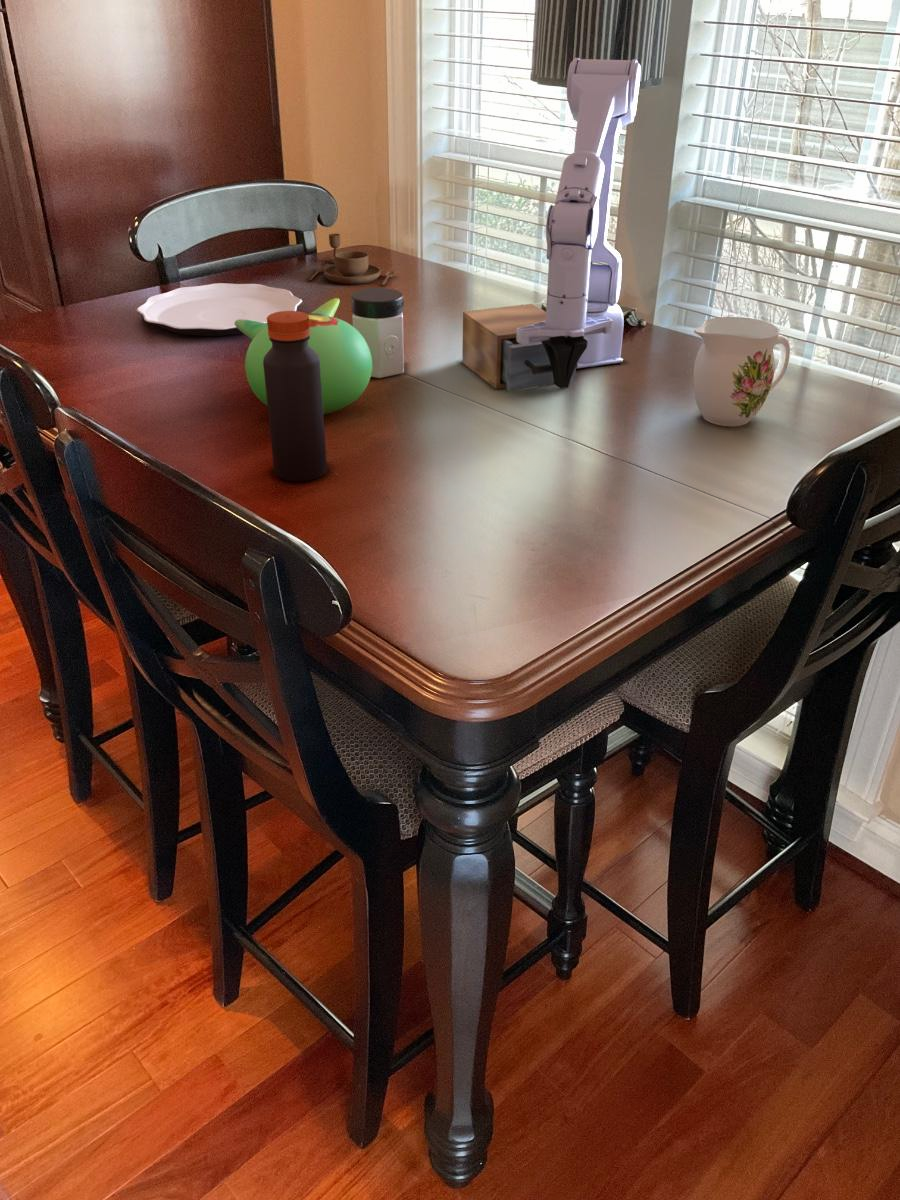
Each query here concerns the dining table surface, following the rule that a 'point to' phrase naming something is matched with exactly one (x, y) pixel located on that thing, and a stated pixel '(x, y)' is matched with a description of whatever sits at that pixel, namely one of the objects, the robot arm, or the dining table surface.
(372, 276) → the place setting
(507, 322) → the wooden drawer box
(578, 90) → the robot arm
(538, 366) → the grey wooden drawer
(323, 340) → the toy bird
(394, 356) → the jar
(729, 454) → the dining table surface
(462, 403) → the dining table surface
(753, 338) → the pitcher
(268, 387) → the bottle
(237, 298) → the plate
